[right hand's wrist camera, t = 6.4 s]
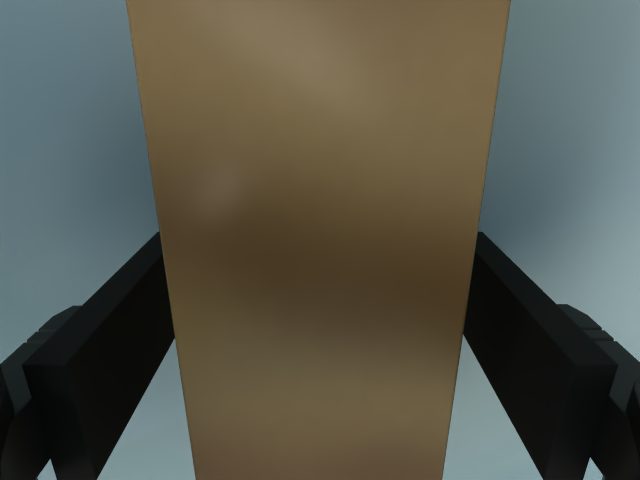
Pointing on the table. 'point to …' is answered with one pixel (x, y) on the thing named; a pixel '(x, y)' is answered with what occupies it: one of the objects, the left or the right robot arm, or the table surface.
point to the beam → (318, 222)
